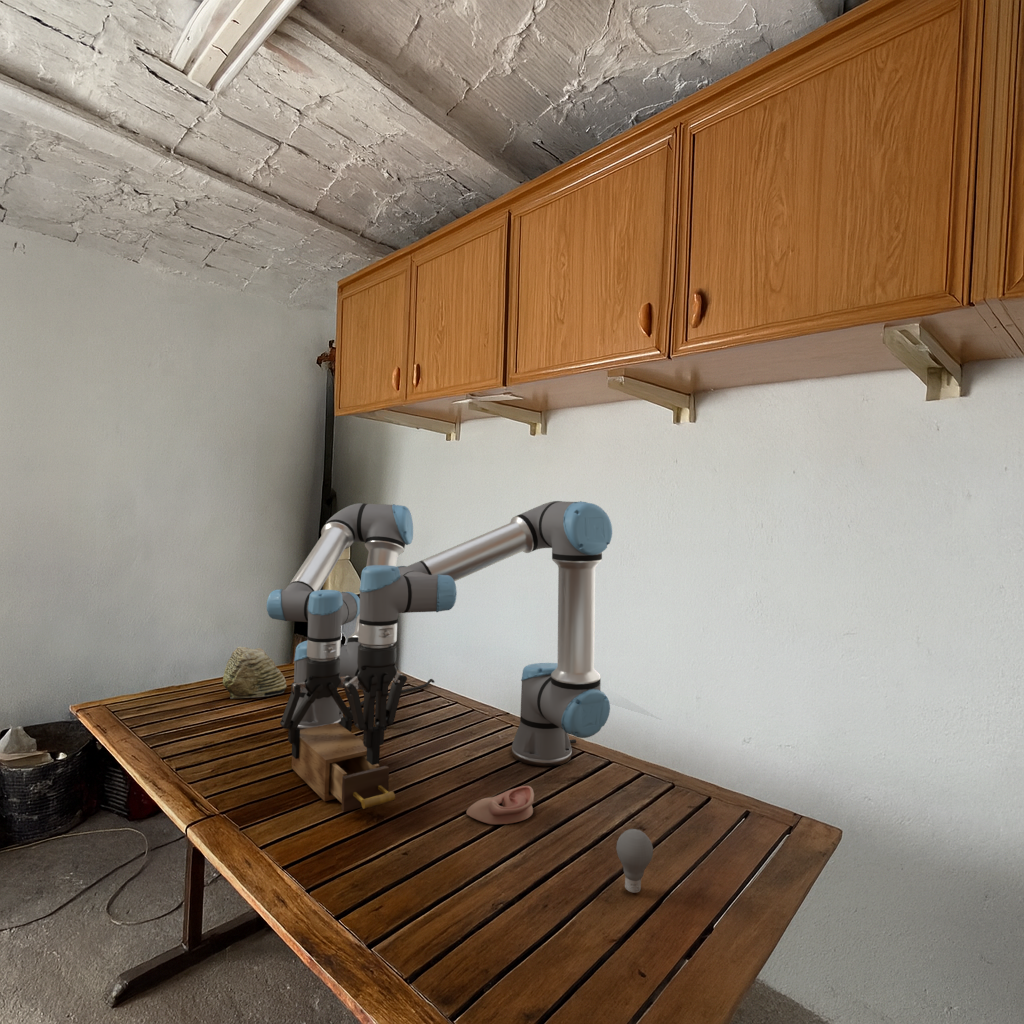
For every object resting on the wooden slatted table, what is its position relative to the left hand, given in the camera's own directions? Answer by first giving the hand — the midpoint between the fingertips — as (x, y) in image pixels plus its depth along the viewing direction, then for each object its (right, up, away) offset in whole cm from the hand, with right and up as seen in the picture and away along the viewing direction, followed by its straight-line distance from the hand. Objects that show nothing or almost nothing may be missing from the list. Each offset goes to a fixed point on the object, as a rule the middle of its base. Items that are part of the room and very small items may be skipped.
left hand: (320, 751), depth 148 cm
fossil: (-36, -1, +50) cm, 62 cm away
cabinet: (+4, -4, -5) cm, 8 cm away
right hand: (+17, +6, -22) cm, 28 cm away
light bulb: (+65, -8, -42) cm, 78 cm away
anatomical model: (+42, -6, -17) cm, 46 cm away
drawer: (+11, -3, -15) cm, 19 cm away
